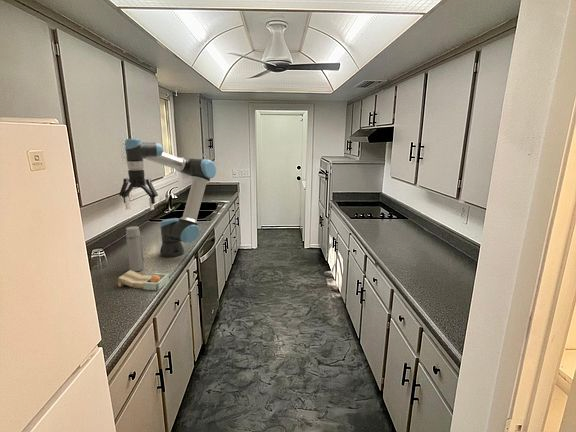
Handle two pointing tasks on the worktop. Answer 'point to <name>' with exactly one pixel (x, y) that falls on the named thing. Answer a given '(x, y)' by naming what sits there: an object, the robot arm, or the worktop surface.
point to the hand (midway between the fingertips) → (140, 209)
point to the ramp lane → (133, 279)
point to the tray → (159, 284)
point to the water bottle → (134, 248)
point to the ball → (155, 279)
